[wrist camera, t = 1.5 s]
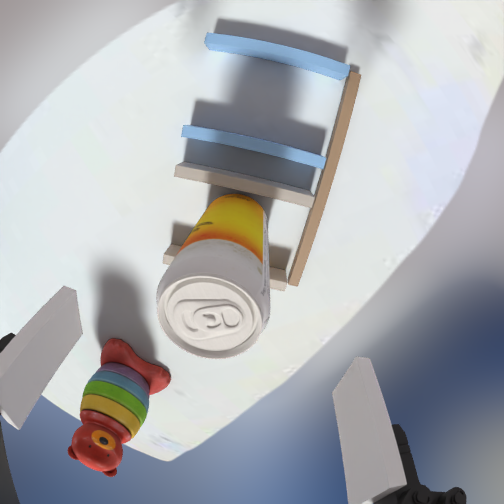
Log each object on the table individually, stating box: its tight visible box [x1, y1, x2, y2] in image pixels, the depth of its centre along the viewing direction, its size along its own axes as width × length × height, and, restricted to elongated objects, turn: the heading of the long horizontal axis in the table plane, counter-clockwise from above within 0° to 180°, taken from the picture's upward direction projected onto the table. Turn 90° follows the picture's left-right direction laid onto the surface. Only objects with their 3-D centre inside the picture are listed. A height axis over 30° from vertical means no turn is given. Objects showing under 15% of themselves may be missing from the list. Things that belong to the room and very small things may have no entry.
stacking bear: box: [68, 339, 171, 477], centre depth 29 cm, size 11×10×18 cm
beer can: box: [157, 194, 270, 359], centre depth 20 cm, size 6×6×15 cm
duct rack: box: [163, 33, 361, 291], centre depth 24 cm, size 14×22×2 cm, turn 167°
